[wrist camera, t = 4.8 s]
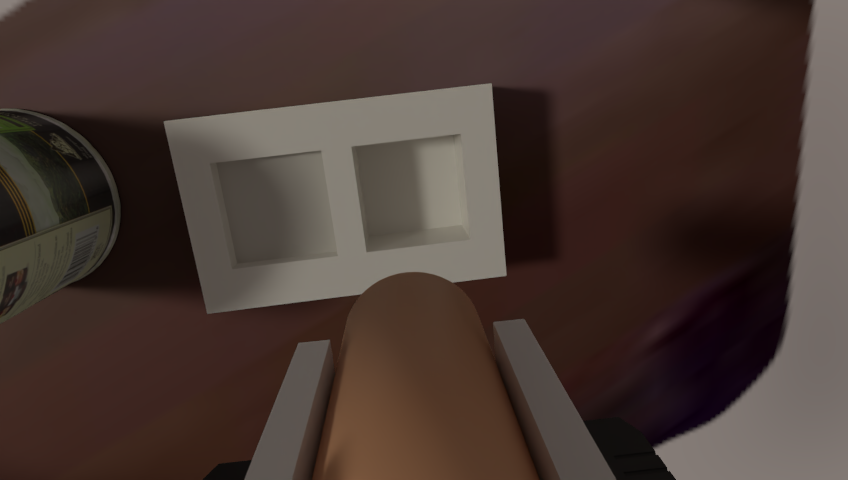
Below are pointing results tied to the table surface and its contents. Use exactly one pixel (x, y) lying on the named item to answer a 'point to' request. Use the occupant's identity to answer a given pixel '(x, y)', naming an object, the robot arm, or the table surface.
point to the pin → (419, 391)
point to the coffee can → (50, 209)
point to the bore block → (340, 195)
